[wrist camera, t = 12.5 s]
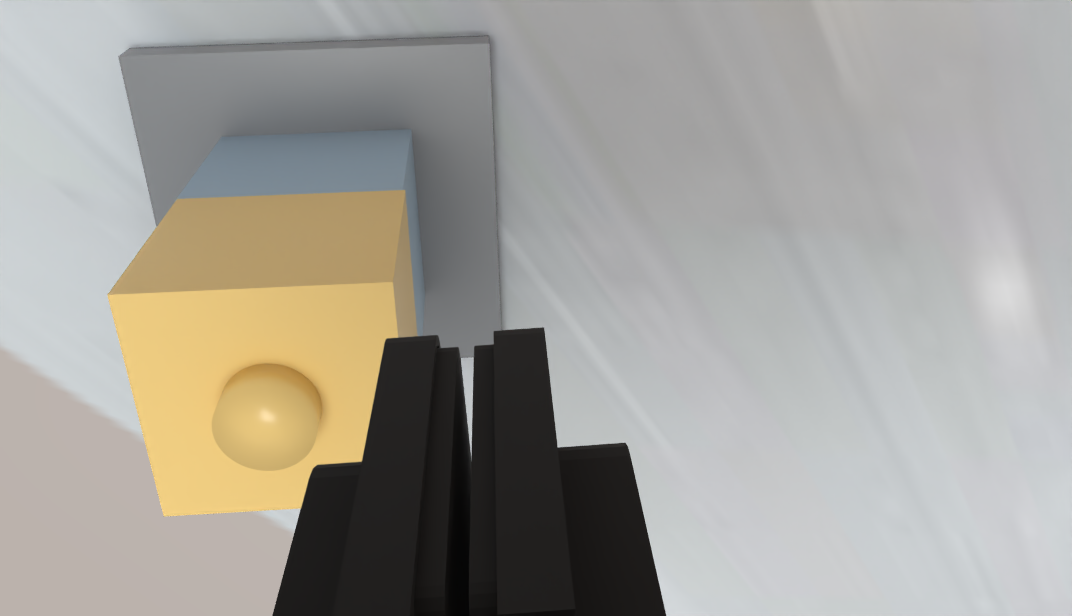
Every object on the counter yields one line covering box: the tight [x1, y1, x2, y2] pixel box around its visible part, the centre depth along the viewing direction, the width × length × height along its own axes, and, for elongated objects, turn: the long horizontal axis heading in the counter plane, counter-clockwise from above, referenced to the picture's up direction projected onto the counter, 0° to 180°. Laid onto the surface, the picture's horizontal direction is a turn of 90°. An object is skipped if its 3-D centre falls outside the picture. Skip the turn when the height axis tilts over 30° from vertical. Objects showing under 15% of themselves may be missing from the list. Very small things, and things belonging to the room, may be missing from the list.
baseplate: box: [118, 36, 501, 358], centre depth 34 cm, size 12×12×2 cm
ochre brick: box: [108, 190, 417, 516], centre depth 25 cm, size 6×6×7 cm
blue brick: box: [175, 129, 425, 336], centre depth 30 cm, size 6×6×7 cm
